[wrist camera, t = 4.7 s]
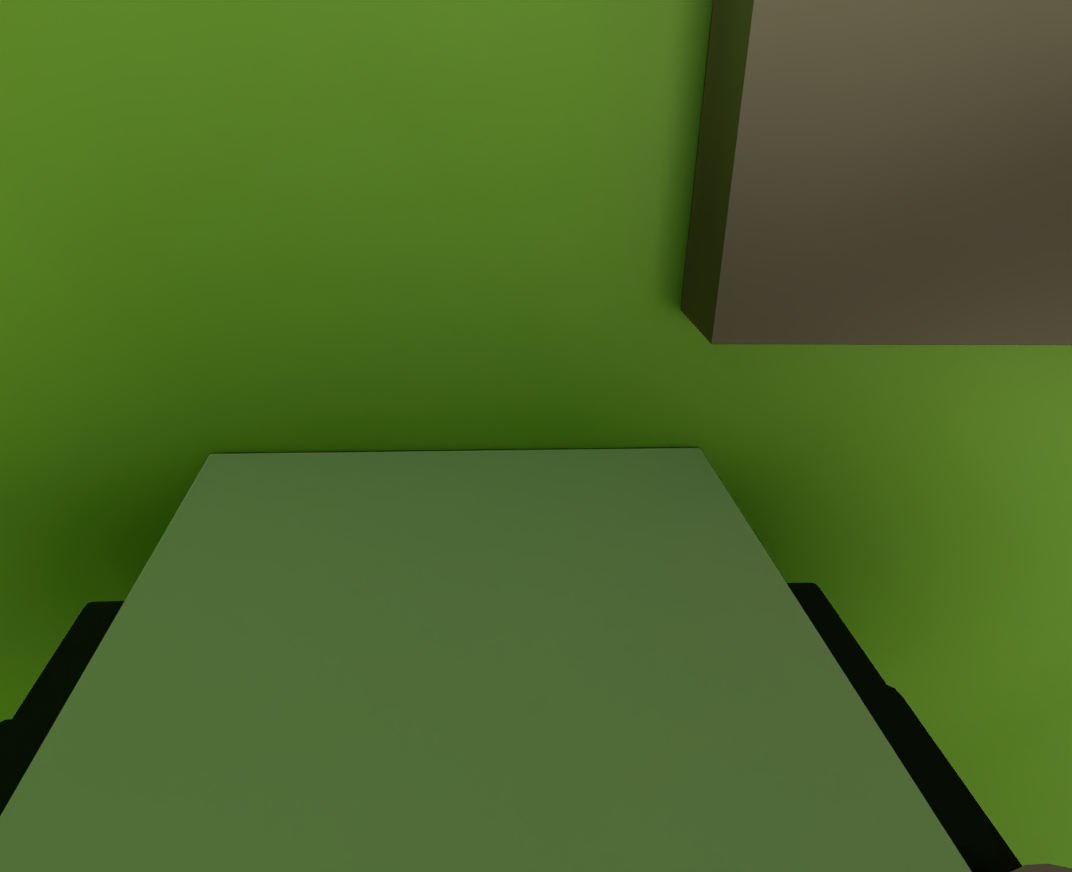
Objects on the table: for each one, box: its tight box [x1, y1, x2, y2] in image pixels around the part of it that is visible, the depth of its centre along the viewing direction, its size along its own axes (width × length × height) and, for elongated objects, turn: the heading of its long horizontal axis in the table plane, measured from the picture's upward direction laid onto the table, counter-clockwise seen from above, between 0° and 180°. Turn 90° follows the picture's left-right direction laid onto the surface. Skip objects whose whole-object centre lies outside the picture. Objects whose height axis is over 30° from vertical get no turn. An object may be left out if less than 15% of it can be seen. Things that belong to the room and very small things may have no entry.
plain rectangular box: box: [0, 448, 972, 872], centre depth 9 cm, size 4×7×10 cm, turn 88°
